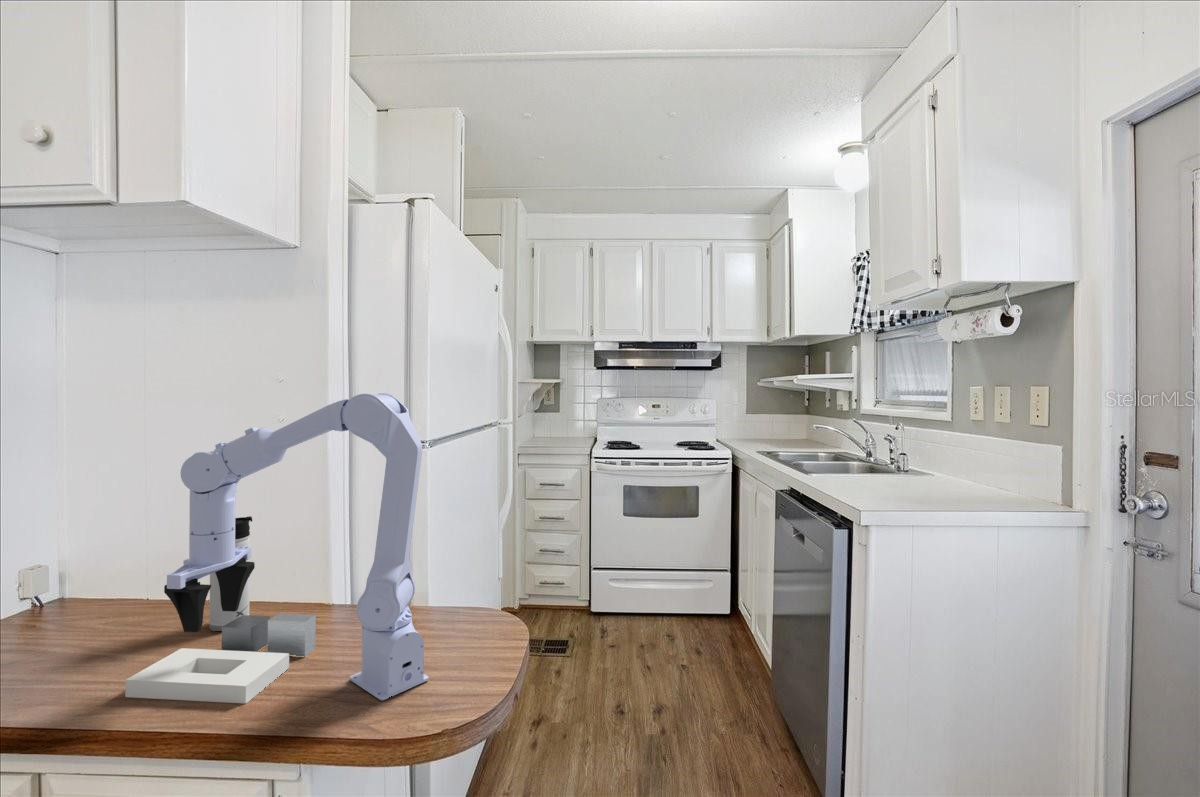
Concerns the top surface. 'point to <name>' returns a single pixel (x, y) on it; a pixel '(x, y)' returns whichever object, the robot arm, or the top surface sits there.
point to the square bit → (245, 633)
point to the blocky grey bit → (292, 634)
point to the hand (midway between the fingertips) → (212, 620)
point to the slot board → (208, 675)
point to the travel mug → (216, 613)
